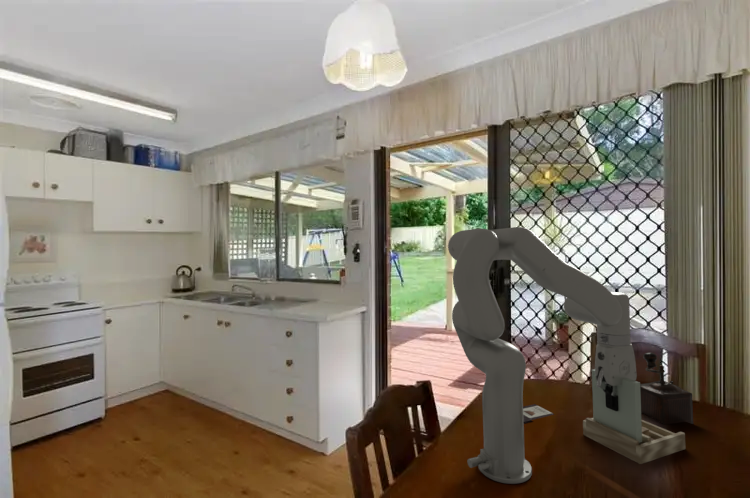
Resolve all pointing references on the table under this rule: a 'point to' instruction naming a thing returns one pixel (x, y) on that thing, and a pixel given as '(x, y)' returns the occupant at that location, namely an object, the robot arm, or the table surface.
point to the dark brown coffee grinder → (664, 398)
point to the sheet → (620, 408)
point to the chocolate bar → (534, 413)
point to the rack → (636, 441)
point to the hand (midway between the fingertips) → (615, 407)
